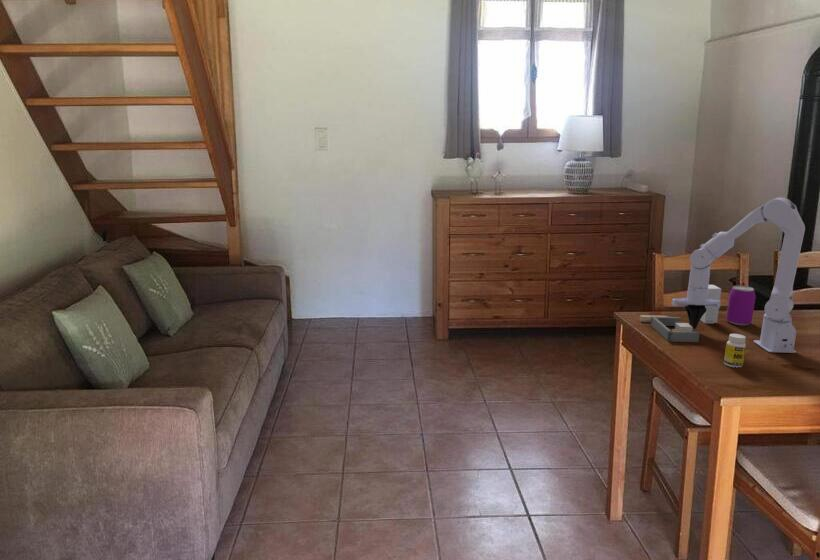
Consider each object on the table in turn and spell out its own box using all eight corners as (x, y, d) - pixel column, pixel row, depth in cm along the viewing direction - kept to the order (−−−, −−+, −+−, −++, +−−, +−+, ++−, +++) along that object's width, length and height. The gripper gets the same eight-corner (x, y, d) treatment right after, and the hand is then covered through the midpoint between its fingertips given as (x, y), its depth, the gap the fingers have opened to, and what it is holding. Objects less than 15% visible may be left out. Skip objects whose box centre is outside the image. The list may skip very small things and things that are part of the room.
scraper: (678, 325, 212) (679, 319, 211) (643, 324, 212) (643, 318, 211) (670, 318, 218) (671, 313, 218) (636, 317, 219) (637, 312, 218)
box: (698, 342, 195) (699, 332, 194) (668, 341, 195) (669, 332, 195) (678, 326, 211) (679, 317, 210) (650, 325, 211) (651, 316, 210)
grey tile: (692, 332, 204) (692, 326, 203) (679, 332, 204) (680, 326, 203) (686, 328, 208) (687, 323, 207) (674, 328, 208) (675, 322, 207)
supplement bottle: (732, 368, 174) (736, 339, 172) (719, 362, 179) (723, 333, 177) (746, 367, 176) (751, 337, 174) (733, 361, 180) (738, 332, 178)
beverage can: (746, 320, 219) (751, 285, 216) (754, 326, 211) (760, 291, 208) (722, 318, 220) (727, 284, 217) (730, 325, 212) (735, 290, 210)
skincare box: (717, 323, 214) (722, 288, 211) (704, 323, 214) (709, 288, 211) (709, 318, 220) (714, 284, 217) (696, 318, 220) (701, 284, 217)
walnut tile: (687, 339, 198) (688, 333, 198) (674, 339, 198) (675, 333, 198) (682, 335, 202) (683, 329, 202) (669, 335, 202) (670, 329, 202)
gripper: (716, 284, 206) (710, 324, 209) (670, 282, 206) (665, 323, 210) (725, 289, 199) (720, 331, 202) (678, 288, 200) (673, 330, 203)
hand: (692, 327), depth 206 cm, fingers closed
